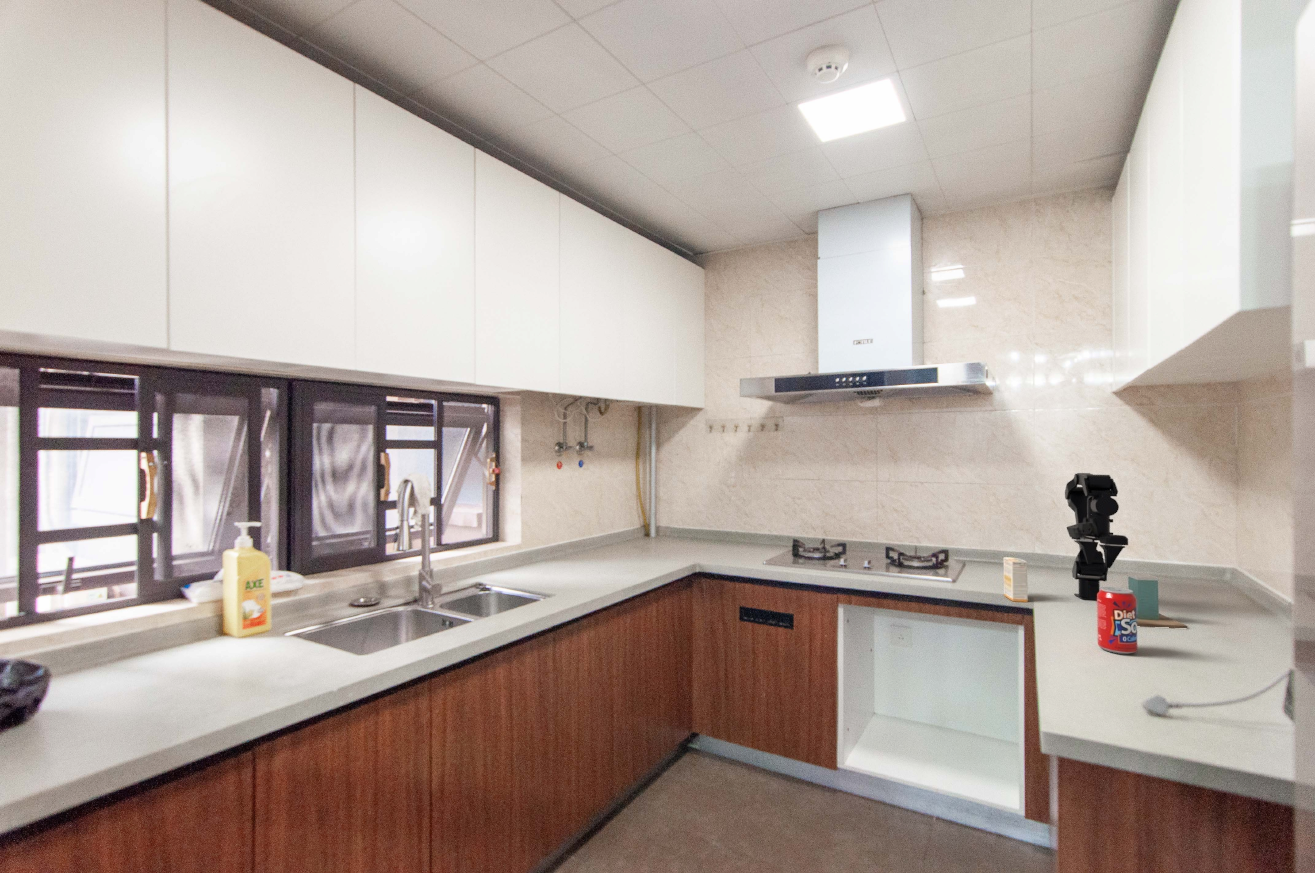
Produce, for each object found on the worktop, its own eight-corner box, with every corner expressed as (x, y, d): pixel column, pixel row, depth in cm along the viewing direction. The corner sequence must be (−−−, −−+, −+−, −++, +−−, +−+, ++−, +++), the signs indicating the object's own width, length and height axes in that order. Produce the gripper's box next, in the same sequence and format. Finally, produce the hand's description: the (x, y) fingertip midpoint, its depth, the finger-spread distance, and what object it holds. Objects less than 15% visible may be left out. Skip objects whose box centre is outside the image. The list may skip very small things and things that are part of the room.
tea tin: (1128, 614, 181) (1127, 573, 181) (1148, 615, 180) (1147, 573, 180) (1138, 619, 176) (1137, 577, 176) (1159, 620, 175) (1158, 577, 175)
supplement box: (1028, 602, 198) (1028, 561, 198) (1012, 601, 199) (1011, 560, 199) (1019, 596, 206) (1018, 556, 206) (1003, 595, 207) (1002, 556, 207)
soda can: (1098, 643, 157) (1098, 584, 157) (1138, 649, 152) (1137, 588, 152) (1096, 651, 151) (1095, 589, 151) (1136, 658, 146) (1136, 594, 146)
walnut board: (1104, 614, 186) (1104, 609, 186) (1157, 617, 183) (1157, 612, 183) (1129, 628, 172) (1129, 622, 172) (1187, 631, 169) (1187, 625, 169)
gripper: (1054, 512, 202) (1054, 560, 200) (1089, 515, 183) (1089, 568, 182) (1090, 514, 201) (1090, 562, 199) (1129, 517, 182) (1129, 570, 181)
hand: (1098, 565), depth 190 cm, fingers open, 9 cm apart
